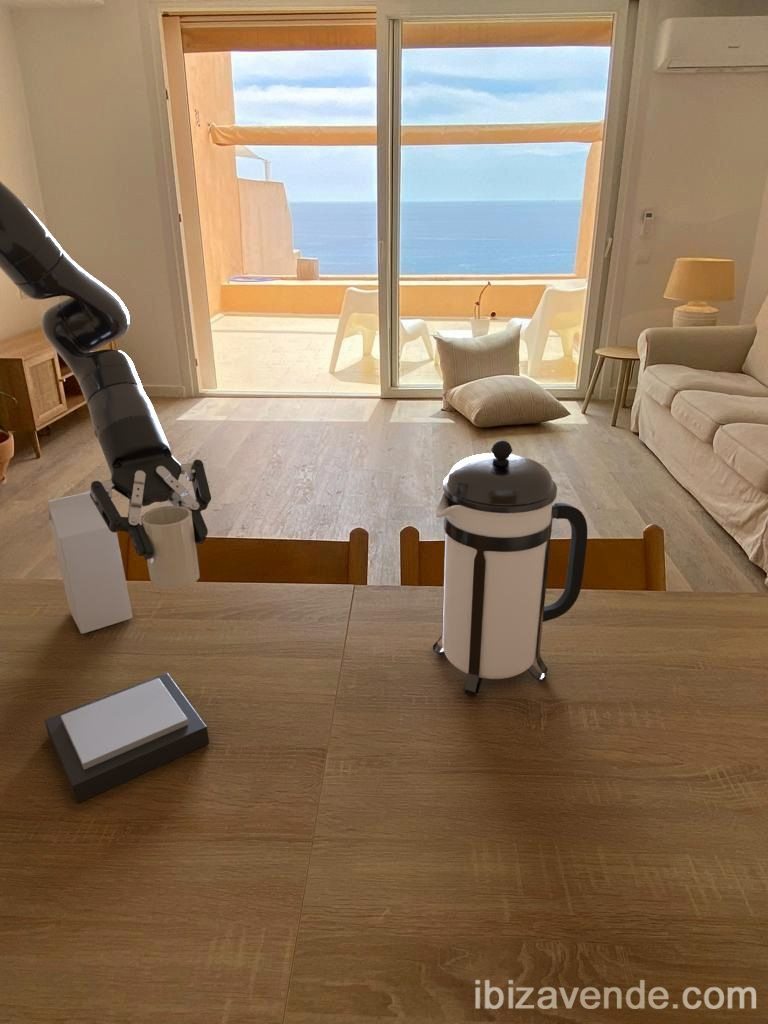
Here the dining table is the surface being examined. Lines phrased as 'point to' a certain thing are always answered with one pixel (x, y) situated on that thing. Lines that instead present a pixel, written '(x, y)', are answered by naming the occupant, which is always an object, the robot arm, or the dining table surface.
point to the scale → (124, 735)
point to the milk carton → (89, 563)
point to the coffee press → (501, 564)
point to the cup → (171, 547)
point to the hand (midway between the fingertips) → (176, 548)
